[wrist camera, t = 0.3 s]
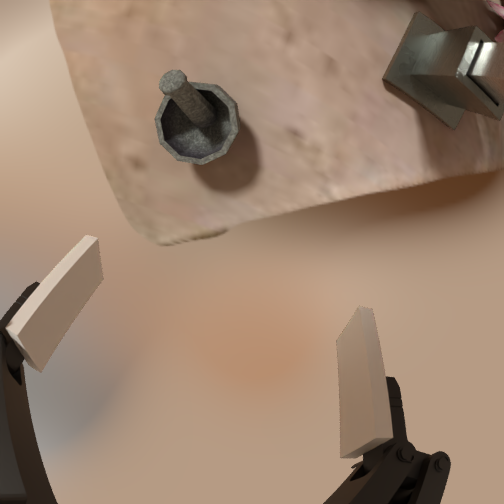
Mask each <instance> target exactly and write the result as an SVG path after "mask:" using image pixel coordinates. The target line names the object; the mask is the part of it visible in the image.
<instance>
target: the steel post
mask: <svg viewBox="0 0 504 504" xmlns="http://www.w3.org/2000/svg"><path fill="white" fill-rule="evenodd" d="M466 76H467V77H469V78H470V79H471V80H472V81H473V82H474V83H475V84H476V85H477V86H478V87H479V88H480V89H481V90H482V91H483V92H484V93H485V94H486V95H487V96H488V97H489V98H490V99H491V100H492V101H493V102H495V103H498V104H502V105H504V42H494V43H479V45H478V47H477V50H476V52H475V54H474V57H473V59H472V61H471V64H470V66H469V68H468V71H467V73H466Z"/></svg>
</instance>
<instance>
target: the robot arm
mask: <svg viewBox="0 0 504 504" xmlns="http://www.w3.org/2000/svg"><path fill="white" fill-rule="evenodd" d="M103 279H104V278H103V273H102V266H101V259H100V251H99V244H98V238H95V237H92V236H88V235H86V236H85V237H84V238H83V239H82V240H81V241H80V242H79V243H78V244H77V245H76V246H75V247H74V248H73V249H72V250H71V251H70V252H69V253H68V254H67V255H66V256H65V257H64V258H63V259H62V260H61V261H60V263H58V265H57V266H56V267H55V268H54V269H53V270H52V271H51V272H50V273H49V274H48V276H47V277H46V278H45V279H44V280H43V281H42V282H41V284H40V283H38V282H35V283H33V284H32V285H30V286H29V287H27V288H26V290H25V291H24V292H23V293H22V294H21V296H20V297H19V298H18V299H17V300H16V302H15V303H14V304H13V305H12V306H11V308H10V309H9V310H8V311H7V313H6V314H5V315H4V317H3V318H2V319H1V320H0V504H58V503H57V502H56V499H55V496H54V494H53V492H52V489H51V486H50V483H49V481H48V478H47V474H46V471H45V468H44V465H43V462H42V459H41V455H40V452H39V448H38V445H37V441H36V437H35V432H34V428H33V424H32V419H31V414H30V409H29V403H28V397H27V390H26V383H25V375H24V367H23V364H22V362H23V360H24V359H25V360H26V362H27V363H28V365H30V366H31V367H32V368H34V369H35V370H37V371H39V372H42V370H43V369H44V367H45V365H46V363H47V362H48V360H49V359H50V357H51V355H52V354H53V352H54V351H55V349H56V347H57V346H58V344H59V343H60V341H61V339H62V338H63V336H64V335H65V333H66V332H67V330H68V329H69V327H70V326H71V324H72V323H73V321H74V320H75V318H76V317H77V316H78V314H79V313H80V311H81V310H82V308H83V307H84V305H85V304H86V302H87V301H88V300H89V298H90V297H91V296H92V294H93V293H94V291H95V290H96V289H97V287H98V286H99V285H100V283H101V282H102V281H103ZM336 342H337V357H338V374H339V398H340V458H357V457H359V456H361V455H363V461H361V462H359V463H357V464H355V465H353V466H352V467H351V468H355V467H356V468H355V470H354V471H353V472H352V473H351V474H350V476H349V477H348V478H347V479H346V480H345V481H344V482H343V483H342V484H341V486H340V487H339V488H338V489H337V490H336V491H335V492H334V493H333V494H332V495H331V496H330V497H329V498H328V499H327V500H326V502H324V503H323V504H440V502H441V499H442V496H443V493H444V489H445V486H446V482H447V479H448V475H449V471H450V466H451V462H450V458H449V457H448V455H447V454H446V453H444V452H441V451H439V452H436V453H434V454H432V455H429V454H426V453H423V452H419V451H417V450H416V449H415V447H414V446H413V444H412V443H410V442H408V440H407V435H406V427H405V419H404V412H403V408H402V406H403V405H402V400H401V392H400V387H399V385H398V383H397V381H396V380H395V378H394V377H386V376H385V370H384V364H383V358H382V353H381V348H380V342H379V338H378V332H377V327H376V323H375V318H374V313H373V310H372V309H370V308H365V307H361V306H359V307H358V309H357V310H356V312H355V313H354V315H353V316H352V318H351V319H350V321H349V323H348V324H347V326H346V327H345V329H344V330H343V332H342V333H341V335H340V336H339V338H338V339H337V341H336Z"/></svg>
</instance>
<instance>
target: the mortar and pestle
mask: <svg viewBox="0 0 504 504" xmlns="http://www.w3.org/2000/svg"><path fill="white" fill-rule="evenodd" d="M159 89H160V90H161V91H162V92H163V93H164V94H165V96H164V98H163V101H162V103H161V105H160V107H159V110H158V112H157V114H156V117H155V123H156V128H157V133H158V138H159V143H160V144H161V145H162V146H163V147H164V148H165V149H166V150H167V151H168V152H169V153H170V154H171V155H172V156H173V157H174V158H175V159H176V160H177V161H182V162H188V163H194V164H199V165H203V164H205V163H208V162H210V161H212V160H214V159H216V158H218V157H220V156H223V155H225V154H226V153H227V152H228V150H229V149H230V147H231V145H232V143H233V141H234V139H235V138H236V136H237V134H238V132H239V131H240V120H239V113H238V106H237V103H236V102H235V101H234V100H233V99H232V98H231V97H230V96H229V95H228V94H227V93H226V92H225V91H224V90H223V89H222V88H221V87H220V86H218V85H214V84H206V83H197V82H188V81H187V76H186V75H185V74H184V73H183V72H182V71H181V70H171V71H169V72H167V73H165V74H164V75H163V77H162V78H161V79H160V82H159Z"/></svg>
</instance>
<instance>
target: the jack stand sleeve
mask: <svg viewBox="0 0 504 504" xmlns="http://www.w3.org/2000/svg"><path fill="white" fill-rule="evenodd" d="M479 43H493V42H492V40H491V39H490V38H489V37H488V36H486V35H485V34H484V33H483V32H482V31H481V30H480V29H479V28H478V27H477V26H470V27H465V28H459V29H454V30H449V31H445V30H444V29H442V28H441V27H440V26H439V25H437V24H436V23H435V22H433V21H432V20H431V19H429V18H428V17H426V16H425V15H424V14H422V13H421V12H419V11H418V12H416V13H414V15H413V18H412V20H411V22H410V24H409V26H408V28H407V30H406V32H405V34H404V36H403V38H402V40H401V42H400V44H399V46H398V48H397V50H396V52H395V54H394V56H393V58H392V60H391V62H390V64H389V66H388V68H387V70H386V72H385V74H384V76H383V78H382V79H383V80H385V81H386V82H388V83H390V84H391V85H393V86H394V87H396V88H397V89H399V90H400V91H402V92H403V93H405V94H406V95H407V96H409V97H410V98H412V99H413V100H415V101H416V102H417V103H419V104H420V105H421V106H423V107H424V108H425V109H427V110H428V111H429V112H431V113H432V114H433V115H434V116H436V117H437V118H438V119H439V120H441V121H442V122H443V123H444V124H445V125H447V126H448V127H449V128H451V129H453V130H455V128H456V126H457V125H458V123H459V121H460V119H461V117H462V115H463V113H464V111H465V110H469V111H472V112H475V113H479V114H482V115H485V116H488V117H491V118H494V119H496V120H499V121H500V120H501V117H502V115H503V113H504V105H502V104H498V103H495V102H493V101H492V100H491V99H490V98H489V97H488V96H487V95H486V94H485V93H484V92H483V91H482V90H481V89H480V88H479V87H478V86H477V85H476V84H475V83H474V82H473V81H472V80H471V79H470V78H469V77H467V76H466V73H467V71H468V68H469V66H470V64H471V61H472V59H473V57H474V54H475V52H476V50H477V47H478V45H479Z"/></svg>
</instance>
